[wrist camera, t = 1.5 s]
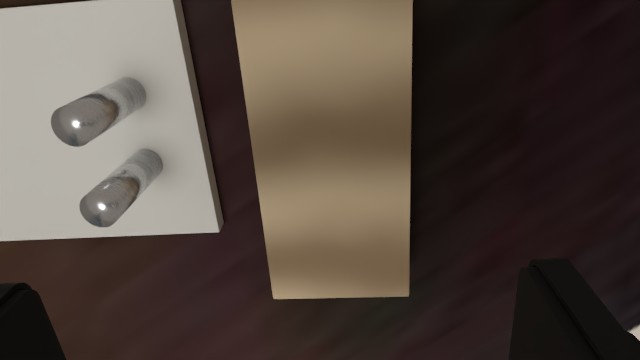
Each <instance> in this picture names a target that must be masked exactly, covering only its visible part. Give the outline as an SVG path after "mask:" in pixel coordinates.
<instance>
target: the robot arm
mask: <svg viewBox="0 0 640 360" xmlns="http://www.w3.org/2000/svg"><path fill="white" fill-rule="evenodd" d="M0 360H66V358H65V356H64V353H63V351H62V348H61V346H60V344H59V341H58V339H57V336H56V334H55V332H54V329H53V327H52V324H51V322H50V320H49V317H48V315H47V312H46V310H45V308H44V305H43V303H42V300H41V298H40V296H39V294H38V292H36V291H35V290H32V289H31V287H30V286H29V285H28V284H26V283H4V284H0ZM509 360H640V341H639V340H638V339H637V338H636V337H635V336H634V335H633V334H631V333H629V332H627V331H625V330H624V329H623V328H622V327H621V325H620V324H619V323H618V322H617V320H616V319H615V318H614V317H613V315H612V314H611V313H610V312H609V310H608V309H607V308H606V306H605V305H604V304H603V303H602V301H601V300H600V299H599V298H598V296H597V295H596V294H595V293H594V291H593V290H592V289H591V288H590V286H589V285H588V284H587V283H586V281H585V280H584V279H583V277H582V276H581V275H580V274H579V272H578V271H577V270H576V269H575V267H574V266H573V265H572V264H571V262H570V261H569V260H568V259H565V258H552V259H533V260H531V262H530V264H529V267H528V268H522V269H521V270H520V272H519V279H518V287H517V295H516V304H515V312H514V320H513V329H512V337H511V345H510V353H509Z"/></svg>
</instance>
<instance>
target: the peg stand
mask: <svg viewBox="0 0 640 360" xmlns="http://www.w3.org/2000/svg"><path fill="white" fill-rule="evenodd" d="M223 223H224V221H223V216H222V211H221V206H220V201H219V195H218V190H217V185H216V180H215V175H214V170H213V165H212V159H211V154H210V149H209V144H208V139H207V134H206V128H205V123H204V118H203V113H202V108H201V103H200V97H199V92H198V87H197V82H196V77H195V72H194V66H193V61H192V56H191V51H190V46H189V41H188V35H187V30H186V25H185V20H184V15H183V10H182V4H181V0H92V1H80V2H69V3H57V4H46V5H35V6H23V7H12V8H0V241H15V240H39V239H64V238H88V237H113V236H137V235H162V234H187V233H211V232H220V230H221V228H222V226H223Z"/></svg>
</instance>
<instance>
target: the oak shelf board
mask: <svg viewBox="0 0 640 360" xmlns="http://www.w3.org/2000/svg"><path fill="white" fill-rule="evenodd" d="M231 3H232V10H233V17H234V24H235V31H236V38H237V46H238V53H239V60H240V67H241V74H242V81H243V88H244V95H245V102H246V109H247V116H248V123H249V130H250V137H251V144H252V151H253V159H254V166H255V173H256V180H257V187H258V194H259V201H260V208H261V215H262V222H263V229H264V236H265V243H266V250H267V257H268V264H269V271H270V279H271V286H272V293H273V299H302V298H352V297H402V296H409V251H410V171H411V91H412V11H413V0H231Z"/></svg>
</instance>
